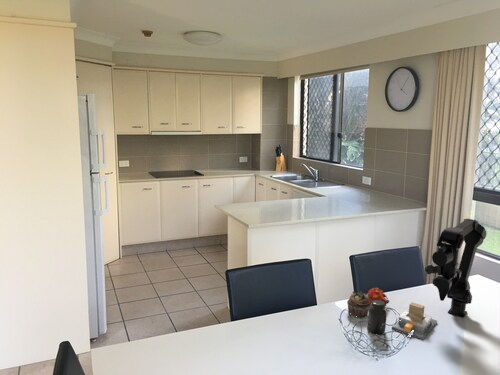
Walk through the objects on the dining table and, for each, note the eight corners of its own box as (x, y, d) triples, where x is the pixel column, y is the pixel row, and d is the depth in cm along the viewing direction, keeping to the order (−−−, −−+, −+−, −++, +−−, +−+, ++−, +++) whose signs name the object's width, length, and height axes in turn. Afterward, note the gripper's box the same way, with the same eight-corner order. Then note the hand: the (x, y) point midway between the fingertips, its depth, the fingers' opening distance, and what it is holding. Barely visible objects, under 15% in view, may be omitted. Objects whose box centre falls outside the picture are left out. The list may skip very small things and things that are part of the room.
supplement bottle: (386, 336, 164) (388, 307, 162) (367, 334, 165) (370, 305, 163) (384, 328, 171) (386, 299, 169) (366, 325, 172) (368, 297, 170)
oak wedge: (410, 320, 176) (412, 302, 174) (422, 324, 173) (424, 305, 171) (407, 322, 173) (409, 304, 172) (420, 327, 170) (422, 308, 169)
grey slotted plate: (407, 313, 184) (408, 304, 183) (436, 322, 176) (437, 313, 176) (391, 328, 170) (392, 319, 169) (422, 339, 163) (423, 329, 162)
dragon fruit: (369, 302, 197) (384, 317, 186) (358, 294, 194) (372, 309, 183) (381, 288, 197) (396, 303, 186) (370, 280, 193) (385, 294, 182)
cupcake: (374, 315, 181) (376, 293, 179) (358, 321, 176) (360, 298, 174) (357, 306, 189) (358, 285, 187) (341, 311, 183) (343, 289, 182)
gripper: (435, 250, 182) (431, 285, 185) (421, 261, 168) (417, 298, 171) (463, 256, 175) (459, 292, 178) (451, 268, 161) (446, 306, 164)
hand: (445, 297), depth 173 cm, fingers open, 9 cm apart
